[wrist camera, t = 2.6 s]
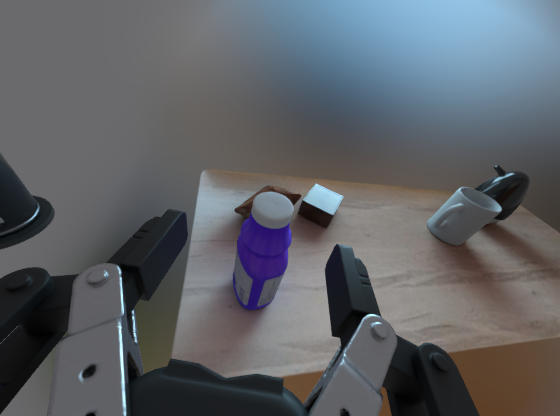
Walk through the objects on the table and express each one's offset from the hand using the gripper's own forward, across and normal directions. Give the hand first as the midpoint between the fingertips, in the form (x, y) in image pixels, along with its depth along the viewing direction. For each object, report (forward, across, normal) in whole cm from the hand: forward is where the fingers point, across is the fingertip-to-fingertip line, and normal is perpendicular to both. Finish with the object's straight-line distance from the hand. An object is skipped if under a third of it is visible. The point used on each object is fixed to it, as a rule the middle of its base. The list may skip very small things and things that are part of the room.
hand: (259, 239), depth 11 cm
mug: (+34, -42, +19) cm, 58 cm away
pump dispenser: (+46, -59, +18) cm, 77 cm away
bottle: (+11, 0, +21) cm, 23 cm away
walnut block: (+32, -11, +19) cm, 39 cm away
